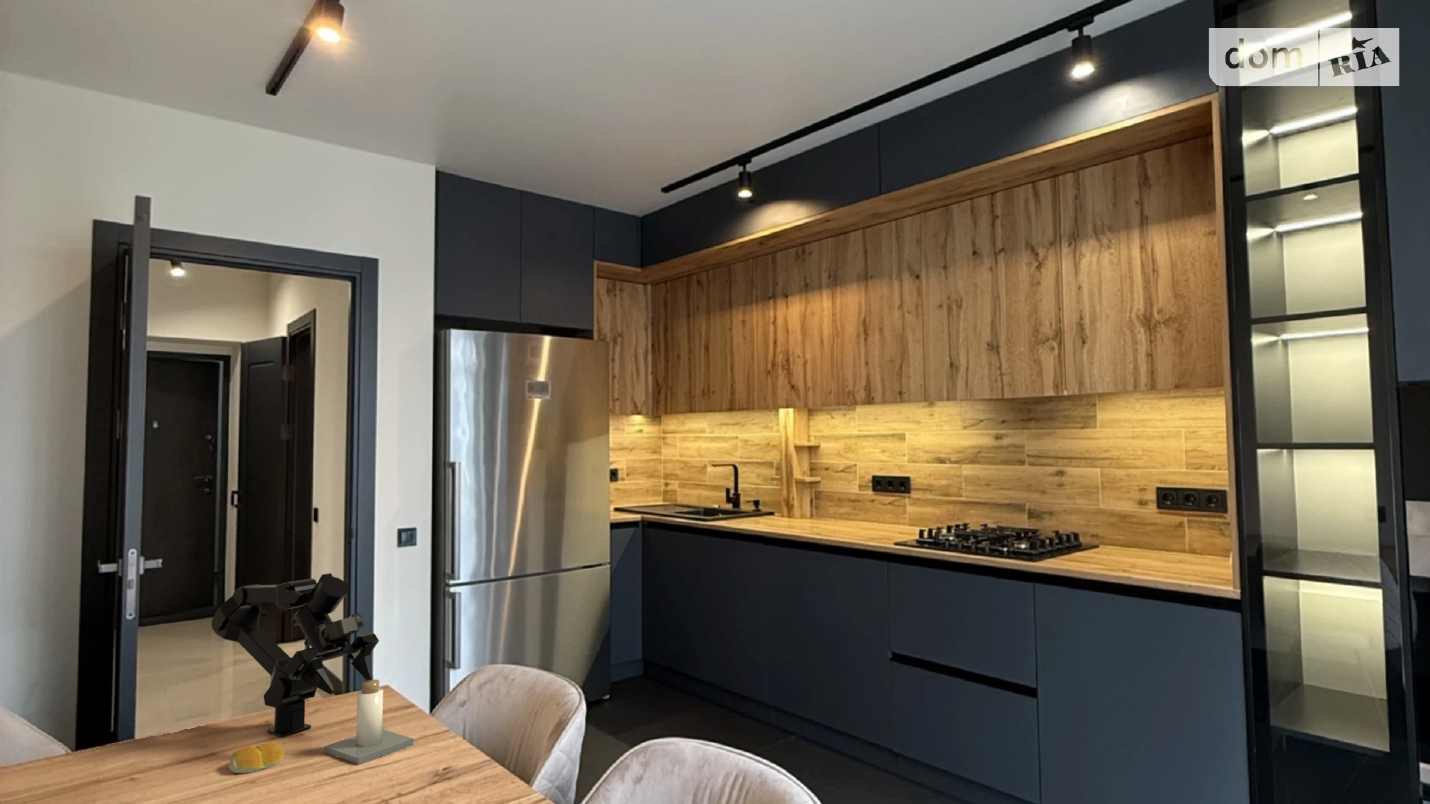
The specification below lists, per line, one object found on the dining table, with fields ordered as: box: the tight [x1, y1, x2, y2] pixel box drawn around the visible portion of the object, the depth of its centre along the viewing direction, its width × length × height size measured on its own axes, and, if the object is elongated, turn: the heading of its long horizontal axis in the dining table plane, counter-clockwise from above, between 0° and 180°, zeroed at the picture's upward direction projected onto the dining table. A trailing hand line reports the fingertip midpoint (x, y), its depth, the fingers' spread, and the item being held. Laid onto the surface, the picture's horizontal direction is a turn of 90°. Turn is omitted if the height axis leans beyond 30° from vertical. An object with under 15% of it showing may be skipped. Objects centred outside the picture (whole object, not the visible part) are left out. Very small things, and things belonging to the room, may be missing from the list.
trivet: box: [323, 728, 414, 766], centre depth 152 cm, size 12×12×1 cm
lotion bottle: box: [355, 679, 384, 747], centre depth 152 cm, size 5×5×12 cm
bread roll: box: [227, 742, 285, 774], centre depth 144 cm, size 8×9×4 cm
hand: (352, 686), depth 155 cm, fingers open, 9 cm apart
